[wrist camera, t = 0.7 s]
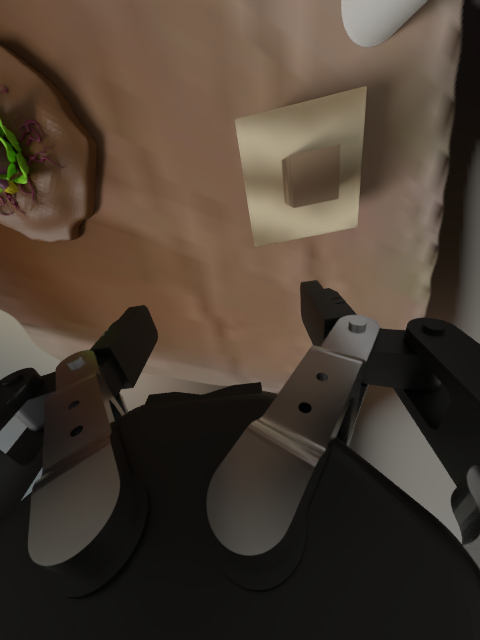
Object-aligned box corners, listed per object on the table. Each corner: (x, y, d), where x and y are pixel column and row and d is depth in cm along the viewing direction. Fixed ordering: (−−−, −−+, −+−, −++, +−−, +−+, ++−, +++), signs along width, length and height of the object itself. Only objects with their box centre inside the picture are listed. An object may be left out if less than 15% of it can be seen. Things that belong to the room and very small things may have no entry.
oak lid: (234, 121, 22) (233, 103, 17) (361, 89, 21) (400, 60, 16) (254, 245, 28) (257, 259, 23) (353, 225, 27) (379, 235, 22)
